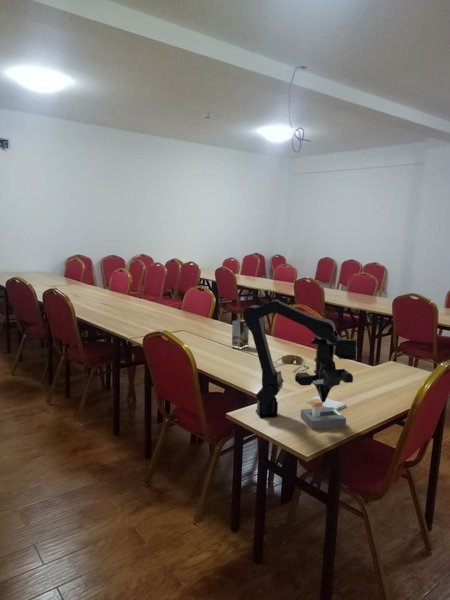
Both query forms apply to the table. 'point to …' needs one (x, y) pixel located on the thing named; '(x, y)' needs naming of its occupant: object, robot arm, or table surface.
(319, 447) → the table surface
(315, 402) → the lever
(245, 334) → the coffee box
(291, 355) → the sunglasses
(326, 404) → the hard drive
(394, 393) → the table surface
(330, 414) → the breaker panel
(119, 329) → the table surface
